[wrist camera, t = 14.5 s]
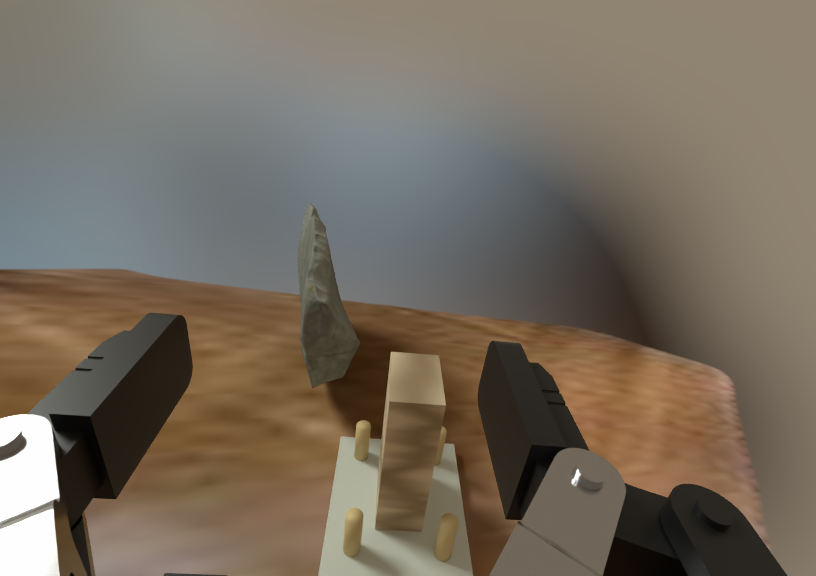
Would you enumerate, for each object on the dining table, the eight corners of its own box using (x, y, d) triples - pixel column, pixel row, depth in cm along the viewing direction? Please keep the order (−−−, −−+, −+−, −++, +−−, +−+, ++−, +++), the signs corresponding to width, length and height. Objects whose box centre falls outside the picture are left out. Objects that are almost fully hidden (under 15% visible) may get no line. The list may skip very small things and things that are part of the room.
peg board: (317, 586, 33) (318, 544, 30) (340, 444, 45) (342, 407, 43) (471, 593, 33) (484, 552, 31) (452, 451, 46) (459, 415, 44)
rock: (359, 430, 47) (372, 266, 38) (302, 439, 45) (301, 268, 36) (325, 311, 70) (328, 189, 61) (285, 313, 68) (282, 188, 59)
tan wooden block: (374, 529, 36) (389, 401, 30) (378, 470, 41) (391, 351, 35) (421, 531, 36) (445, 405, 30) (418, 472, 42) (438, 355, 35)
